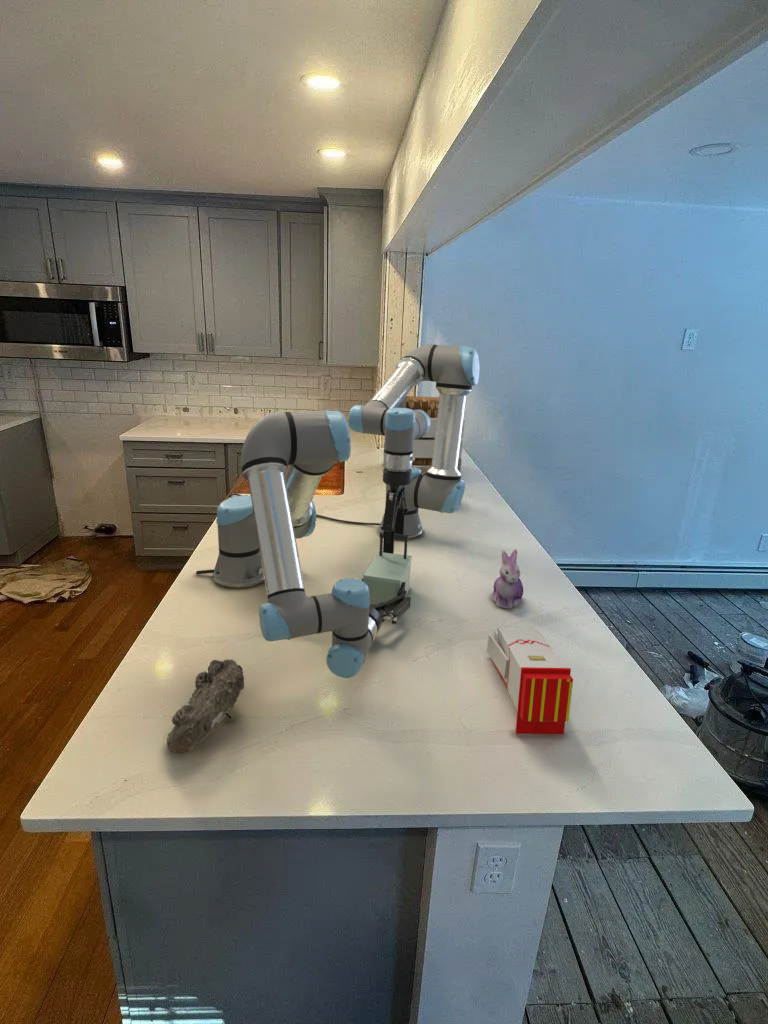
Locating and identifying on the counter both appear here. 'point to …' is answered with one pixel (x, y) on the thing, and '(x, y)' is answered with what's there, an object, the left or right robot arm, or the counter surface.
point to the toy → (532, 679)
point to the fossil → (206, 705)
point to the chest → (386, 588)
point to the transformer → (426, 443)
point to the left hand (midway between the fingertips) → (384, 584)
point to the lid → (389, 563)
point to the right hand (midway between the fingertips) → (393, 543)
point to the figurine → (508, 583)
